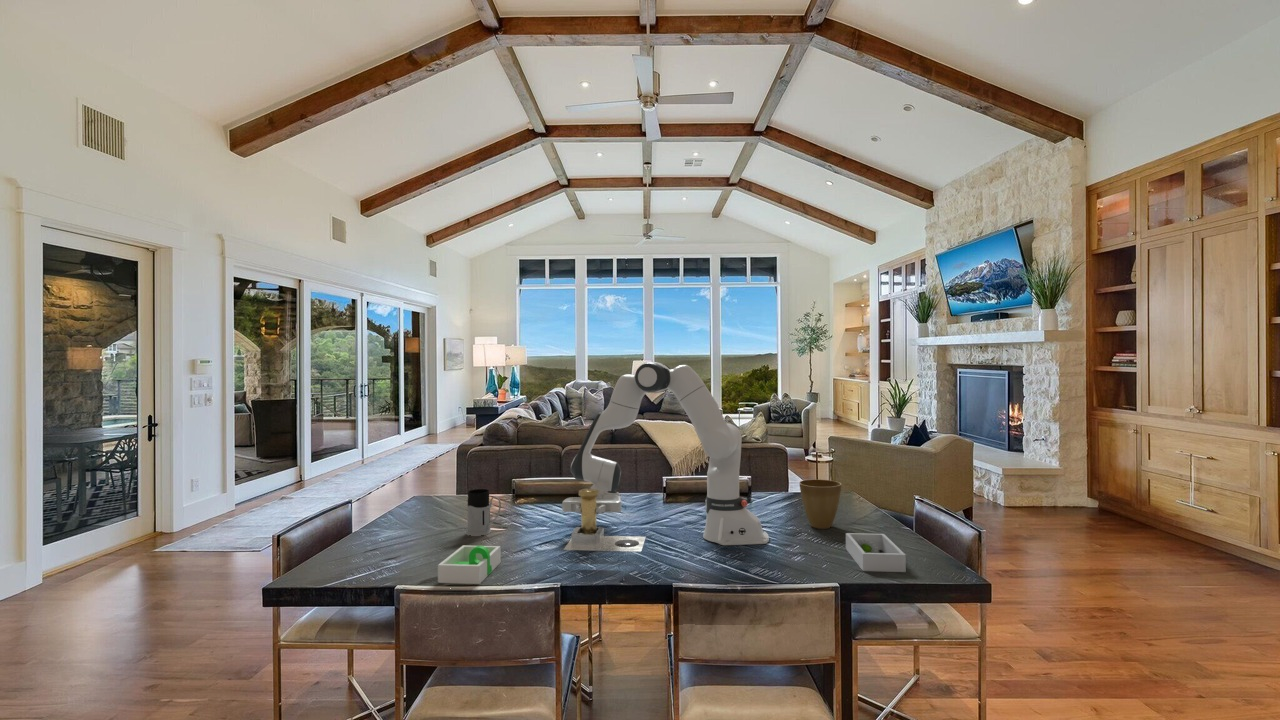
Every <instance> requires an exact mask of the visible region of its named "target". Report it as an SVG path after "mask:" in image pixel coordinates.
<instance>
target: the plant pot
mask: <svg viewBox="0 0 1280 720" xmlns="http://www.w3.org/2000/svg"><path fill="white" fill-rule="evenodd" d="M798 482H799V490H800V495H801V501H802V504H803V507H804V512H805V514H806V518H807V520H808V523H809V525H810V527H812V528H815V529H820V530H821V529H830V527H831V528H832V526H833V524H834V521H835V517H836V514H837V512H838V507H839V503H840V499H841V498H840V497H841V491H842V482H839V481H836V480H831V479H817V478H815V479H803V480H801V481H798Z"/></svg>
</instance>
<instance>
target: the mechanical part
mask: <svg viewBox="0 0 1280 720" xmlns="http://www.w3.org/2000/svg"><path fill="white" fill-rule="evenodd" d="M475 546H476V547H475V548H474V549H473V550H472V551H471V552H470V554H469V562H457V563H456V564H464V565H478V564H479V563H480V562H481V561H480V560H478V559H477V558H476V554H477V553H480V554H482V556H483V559H487V575H488V576H489V575H490V574H491V573H492V572H493V571H492V567H491V565H490V553H489V550H488V549H487V548H486V547H484V546H485V545H475ZM491 571H492V572H491ZM490 572H491V573H490Z"/></svg>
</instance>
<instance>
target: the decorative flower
mask: <svg viewBox="0 0 1280 720" xmlns="http://www.w3.org/2000/svg"><path fill="white" fill-rule="evenodd" d="M863 541H864V542H863ZM863 541H862V540H861V539H859V541H858V540H856V542H858V545H859V546H860V547H861V548H862V549H863V551H864V552H865V553H881V552H880V550H879V548H877V547H878V546H877V545H873V544H874V542H871V543H870V541H869V540H867V542H866V540H865V539H863ZM876 549H877V550H876Z"/></svg>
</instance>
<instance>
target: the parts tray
mask: <svg viewBox="0 0 1280 720" xmlns="http://www.w3.org/2000/svg"><path fill="white" fill-rule="evenodd" d="M476 546H477V545H464V544H463V545H461V546H460V547H459V548H458V549H456V550H455V551H454V552H452V553H451V554H450V555H448V556H447V557H446V558H445V559H444V560H442V561H441V562H439V564H437V584H462V585H464V584H465V585H473V584H474V585H480V584H481V583H482V582H483V581H484V580H485V579H486V578H487V577H488V576H489V575H487V559H483V556H482V554H480V553H477V554H476V558H477V559H478V560H480V561H481V562H480V563H479V564H478V565H464V564H456V563H457V562H469V554H470V552H471V551H472V550H473V549H474V548H475V547H476ZM483 546H484V547H486V548H487V549H488V550H489V553H490V565H491V567H492V571H491V572H490V574H491V573H493V571H495V569H496V568H498V566H499V565H500V564H501V562H502V561H501V558H502V556H501V554H502V552H501V550H502V549H501V545H483Z"/></svg>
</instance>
